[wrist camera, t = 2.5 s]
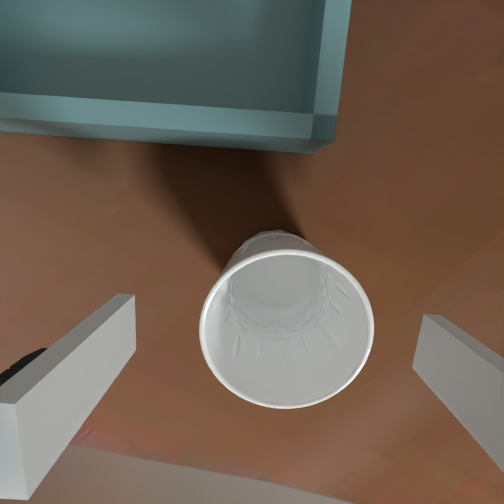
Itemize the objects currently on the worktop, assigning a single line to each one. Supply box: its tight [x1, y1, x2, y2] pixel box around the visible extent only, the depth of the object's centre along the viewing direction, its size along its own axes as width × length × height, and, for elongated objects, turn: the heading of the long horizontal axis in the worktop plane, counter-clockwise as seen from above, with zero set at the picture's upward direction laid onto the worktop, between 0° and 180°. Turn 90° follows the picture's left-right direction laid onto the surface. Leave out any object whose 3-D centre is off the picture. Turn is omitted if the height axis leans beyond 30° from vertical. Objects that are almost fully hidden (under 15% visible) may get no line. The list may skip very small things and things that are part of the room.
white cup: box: [199, 230, 374, 409], centre depth 18 cm, size 8×8×10 cm
